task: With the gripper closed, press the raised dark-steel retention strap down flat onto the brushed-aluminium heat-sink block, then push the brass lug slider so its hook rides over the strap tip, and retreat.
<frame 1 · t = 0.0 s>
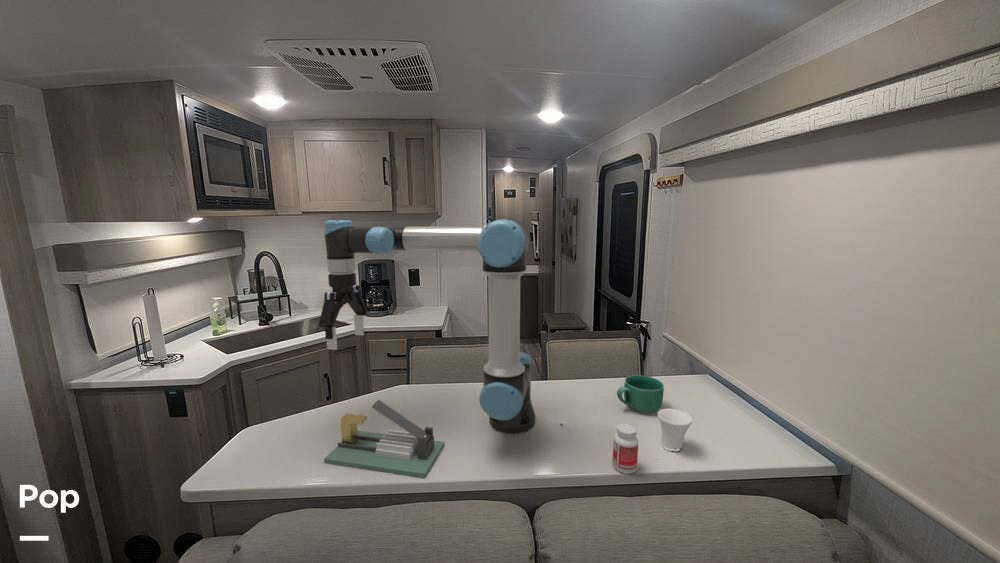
hand: (346, 341, 112), 28 cm above the table, fingers open, 13 cm apart
strap: (401, 421, 101), point 10 cm above the table, hinge at 30.0°
mug: (637, 408, 128), on the table
lug: (354, 429, 105), point 5 cm above the table, slide at 0.0 cm
pill bottle: (624, 467, 97), on the table
cup: (671, 448, 106), on the table
board: (386, 453, 103), on the table
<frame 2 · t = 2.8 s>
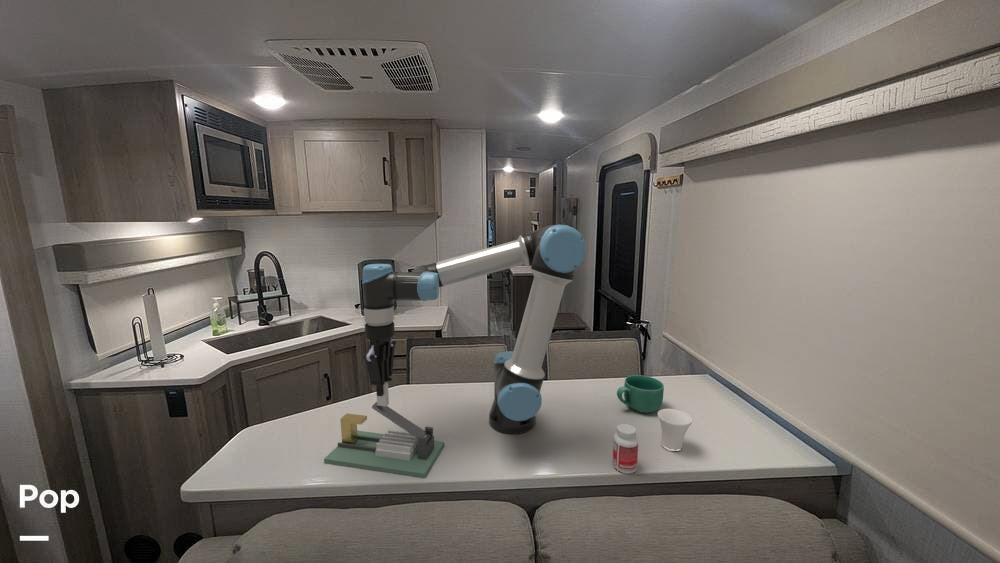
hand: (383, 404, 101), 14 cm above the table, fingers closed
strap: (401, 421, 101), point 10 cm above the table, hinge at 29.3°, touching gripper
everything else where it was.
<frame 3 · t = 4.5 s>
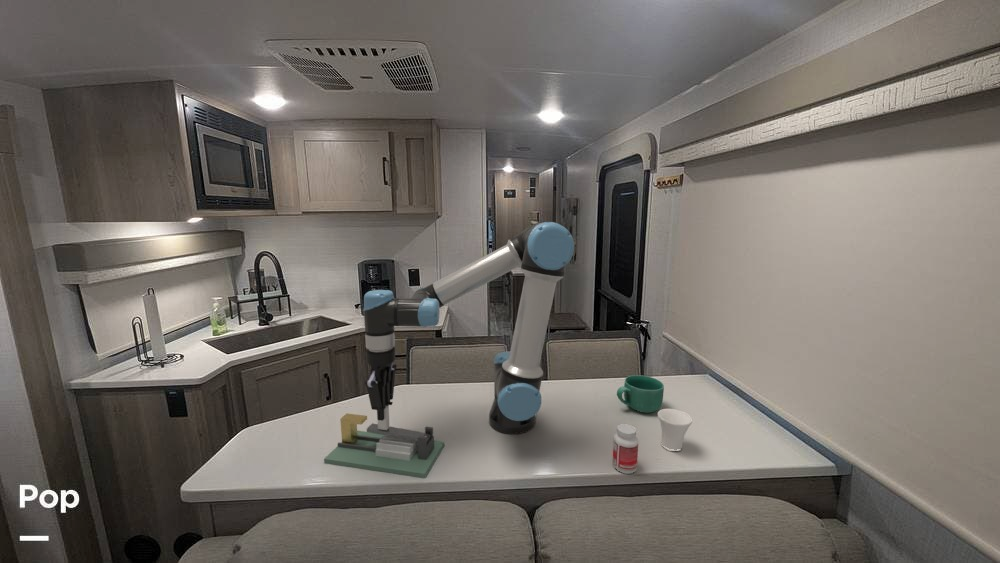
hand: (383, 428, 103), 7 cm above the table, fingers closed
strap: (398, 432, 102), point 6 cm above the table, hinge at 3.1°, touching gripper
everything else where it was.
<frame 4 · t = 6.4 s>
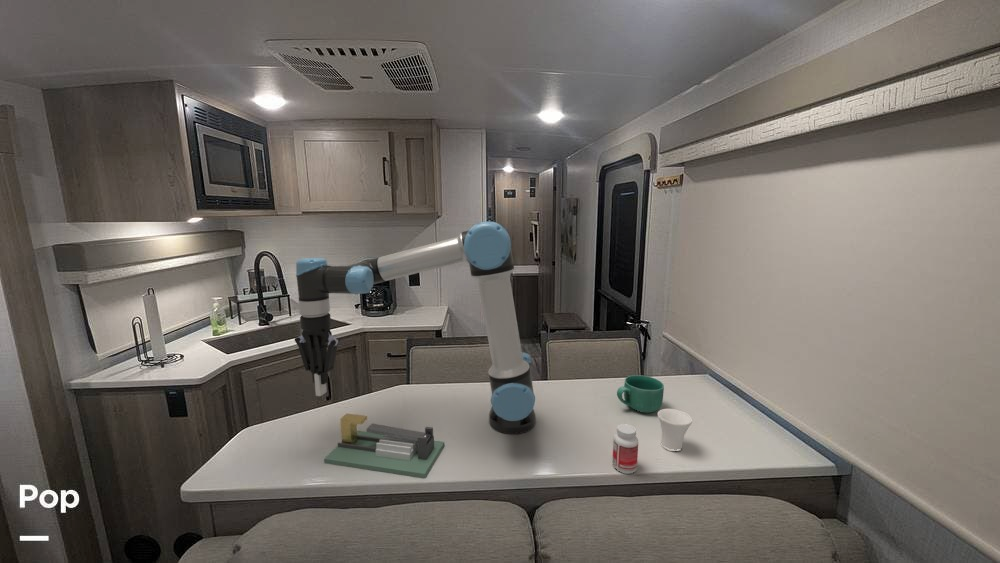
hand: (321, 393, 105), 15 cm above the table, fingers closed
strap: (398, 432, 102), point 6 cm above the table, hinge at 3.0°
everything else where it was.
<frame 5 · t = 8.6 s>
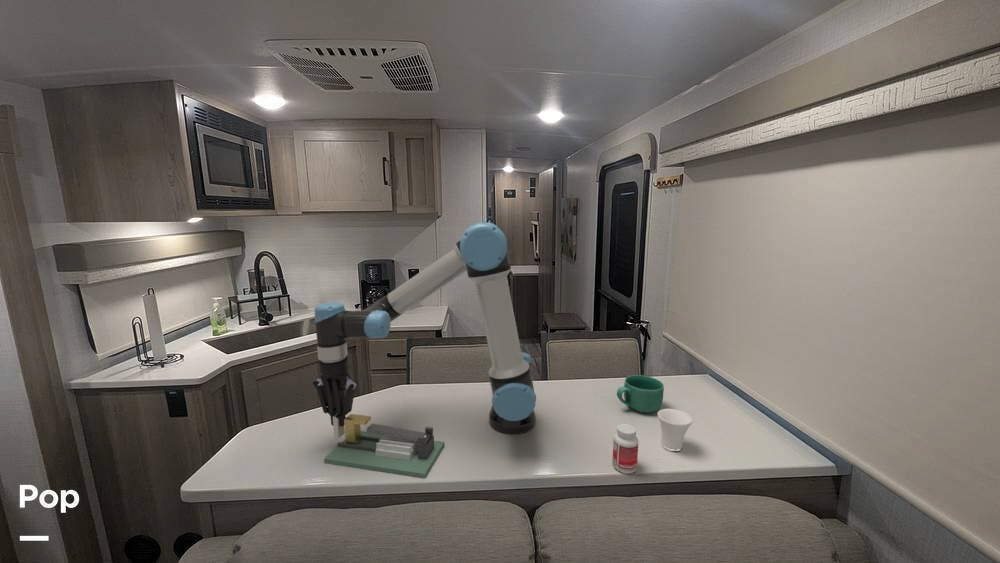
hand: (339, 435, 106), 3 cm above the table, fingers closed
lug: (358, 430, 105), point 5 cm above the table, slide at 1.2 cm, touching gripper
everything else where it was.
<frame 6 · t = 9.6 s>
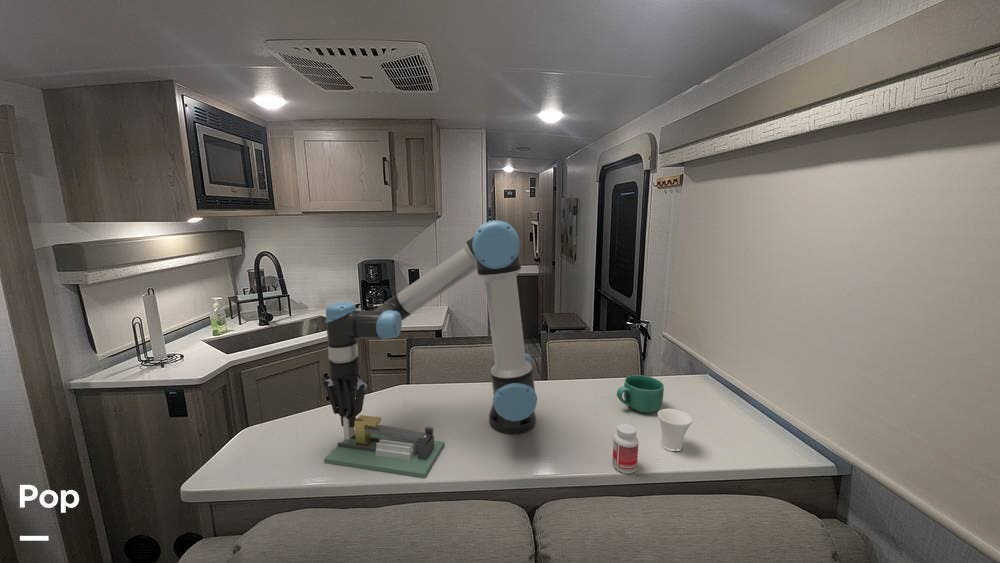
hand: (349, 436, 106), 3 cm above the table, fingers closed
lug: (368, 431, 104), point 5 cm above the table, slide at 4.4 cm, touching gripper
everything else where it was.
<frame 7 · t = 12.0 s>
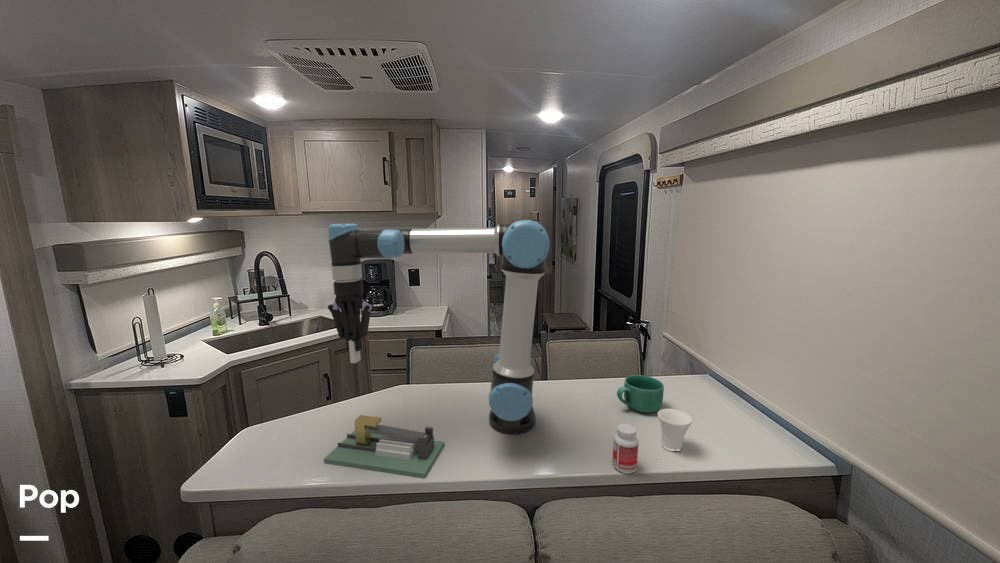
hand: (355, 361, 105), 25 cm above the table, fingers closed
lug: (368, 431, 104), point 5 cm above the table, slide at 4.4 cm
everything else where it was.
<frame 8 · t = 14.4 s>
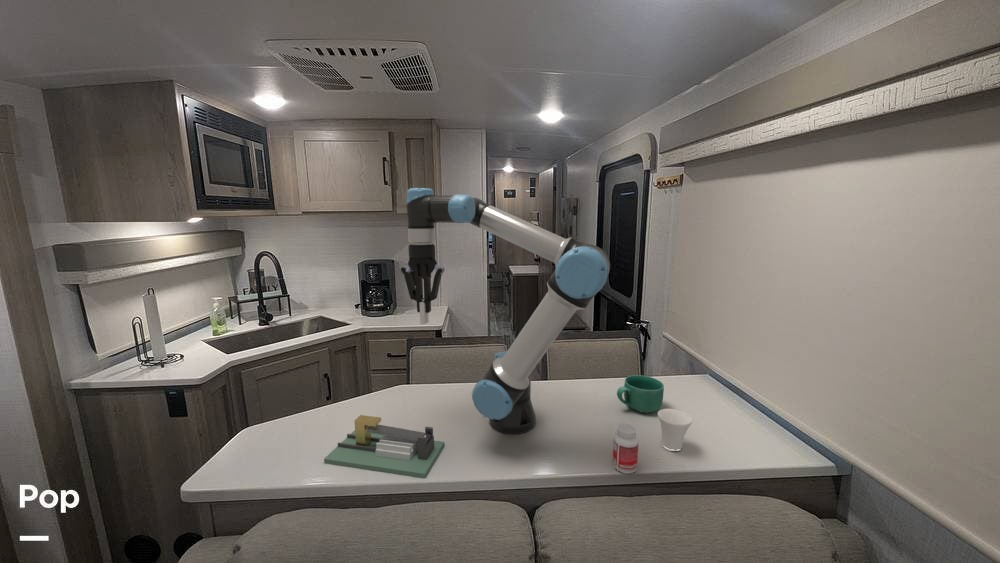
hand: (424, 322, 109), 34 cm above the table, fingers closed
nothing on the table moved.
at the end: strap at +3° (first picture: +30°); lug slide at 4.4 cm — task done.
